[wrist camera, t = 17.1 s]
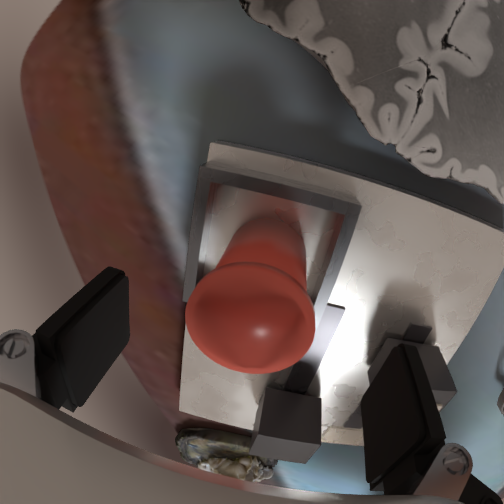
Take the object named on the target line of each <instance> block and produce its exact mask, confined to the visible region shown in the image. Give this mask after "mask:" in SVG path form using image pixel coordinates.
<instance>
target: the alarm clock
mask: <svg viewBox="0 0 504 504" xmlns="http://www.w3.org/2000/svg"><path fill="white" fill-rule="evenodd" d="M497 405H498V407H499V409H500V411H501V413H502V414H503V415H504V389H503V390H502V392H501V394H500V396H499V398H498V402H497Z"/></svg>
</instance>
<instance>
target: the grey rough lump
mask: <svg viewBox="0 0 504 504" xmlns="http://www.w3.org/2000/svg"><path fill="white" fill-rule="evenodd" d="M251 438H252V437H249V436H245V435H240V434H235V433H230V432H225V431H220V430H215V429H208V428H189V429H182V430H181V431H180V432H179V434H178V435H177V436H176V438H175V442H176V446H177V447H178V448H179V451H180V454H181V458H182V459H183V460H184V461H186V462H188V463H189V464H192V463H193V464H194V465H196V466H197V467H198V468H199V469H201V470H205V471H208V472H212V473H216V474H220V475H224V476H228V477H232V478H236V479H240V480H245V481H250V482H260V481H261V480H263V479H269V478H271V477H272V476H273V469H272V467H274V466H275V465H277V462H278V460H277V459H271V458H265V457H260V456H255V455H250V454H248V453H249V448H250V443H251Z"/></svg>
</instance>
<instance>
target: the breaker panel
mask: <svg viewBox="0 0 504 504" xmlns="http://www.w3.org/2000/svg"><path fill="white" fill-rule="evenodd" d="M262 218H269V219H276V220H279V221H282V222H284V223H286V224H288V225H289V226H291V227H292V228H293V229H294V230H295V231H296V232H297V233H298V234H299V235H300V237H301V238H302V240H303V242H304V245H305V249H306V270H307V293H308V295H309V296H310V298H311V301H312V303H313V306H314V311H315V336H314V340H313V343H312V345H311V347H310V349H309V350H308V351H307V353H306V354H305V355H304V356H303V357H302V358H301V359H300V360H299V361H298V362H296V363H295V364H293V365H291V366H290V367H288V368H285V369H283V370H280V371H277V372H272V373H265V374H250V373H243V372H238V371H234V370H231V369H228V368H226V367H223V366H221V365H219V364H217V363H216V362H214V361H213V360H211V359H210V358H208V357H207V356H206V355H205V354H204V353H203V352H202V351H201V350H200V349H199V348H198V347H197V346H196V345H195V343H194V342H193V340H192V339H191V337H190V334H189V332H188V329H187V326H186V325H185V336H184V347H183V360H182V373H181V387H180V404H179V411H183V412H186V413H189V414H192V415H196V416H199V417H202V418H206V419H210V420H213V421H217V422H221V423H225V424H228V425H233V426H237V427H241V428H245V429H250V430H253V428H254V422H255V417H256V412H257V409H258V406H259V403H260V401H261V398H262V396H263V393H264V391H265V388H266V387H268V388H273V389H277V390H282V391H287V392H292V393H297V394H302V395H308V396H314V397H319V398H321V399H322V419H321V442H326V443H334V444H344V445H356V446H364V438H363V426H362V416H361V405H360V404H361V399H362V397H363V395H364V393H365V392H366V390H367V389H368V387H369V386H370V385H369V379H368V373H367V371H368V370H369V368H370V366H371V365H372V363H373V361H374V360H375V358H376V356H377V355H378V353H379V351H380V350H381V348H382V346H383V345H384V343H385V341H386V339H387V338H393V339H398V340H403V341H409V342H414V343H420V344H426V345H432V346H438V347H439V349H440V351H441V353H442V355H443V358H444V360H445V362H446V365H447V364H448V362H449V361H450V359H451V358H452V356H453V355H454V353H455V352H456V350H457V349H458V347H459V346H460V344H461V343H462V341H463V340H464V338H465V337H466V335H467V334H468V332H469V330H470V329H471V327H472V325H473V324H474V322H475V320H476V319H477V317H478V315H479V314H480V312H481V310H482V308H483V307H484V305H485V303H486V301H487V299H488V297H489V296H490V294H491V292H492V290H493V288H494V286H495V284H496V282H497V280H498V278H499V276H500V274H501V272H502V270H503V268H504V229H502V228H500V227H498V226H495V225H493V224H491V223H489V222H486V221H484V220H482V219H480V218H477V217H475V216H473V215H470V214H468V213H466V212H463V211H461V210H458V209H456V208H453V207H451V206H448V205H446V204H443V203H441V202H438V201H435V200H433V199H430V198H427V197H425V196H422V195H419V194H416V193H414V192H411V191H408V190H405V189H402V188H399V187H396V186H394V185H391V184H388V183H385V182H381V181H378V180H375V179H372V178H369V177H366V176H363V175H359V174H356V173H353V172H349V171H346V170H342V169H339V168H336V167H332V166H328V165H325V164H321V163H317V162H314V161H310V160H306V159H302V158H298V157H294V156H290V155H286V154H282V153H278V152H273V151H269V150H265V149H260V148H255V147H251V146H246V145H241V144H236V143H231V142H226V141H221V140H217V141H214V142H210V148H209V153H208V159H207V162H206V163H204V164H202V165H200V167H199V173H198V180H197V186H196V193H195V200H194V207H193V214H192V221H191V229H190V237H189V245H188V253H187V262H186V271H185V281H184V290H183V301H184V302H188V299H189V297H190V296H191V294H192V292H193V290H194V289H195V287H196V285H197V284H198V283H199V281H200V280H201V279H202V278H203V277H204V276H205V275H206V274H207V273H209V272H210V271H212V270H213V269H215V268H216V266H217V264H218V262H219V260H220V259H221V257H222V255H223V253H224V251H225V250H226V248H227V246H228V244H229V242H230V240H231V239H232V237H233V235H234V234H235V232H236V231H237V230H238V229H239V228H240V227H241V226H243V225H244V224H246V223H248V222H250V221H252V220H256V219H262Z"/></svg>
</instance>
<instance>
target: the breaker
mask: <svg viewBox="0 0 504 504" xmlns="http://www.w3.org/2000/svg"><path fill="white" fill-rule="evenodd" d="M321 419H322V399H321V398H319V397H314V396H308V395H302V394H297V393H292V392H287V391H282V390H277V389H273V388H268V387H266V388H265V391H264V393H263V396H262V398H261V401H260V403H259V406H258V409H257V412H256V417H255V422H254V428H253V433H252V438H251V443H250V448H249V453H248V454H250V455H255V456H260V457H265V458H271V459H277V460H283V461H289V462H296V463H304V464H306V462H307V461H308V460H309V459H310V458H311V457H312V455H313V454H314V453H315V452H316V451H317V449H318V448H319V447H320V446H321Z"/></svg>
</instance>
